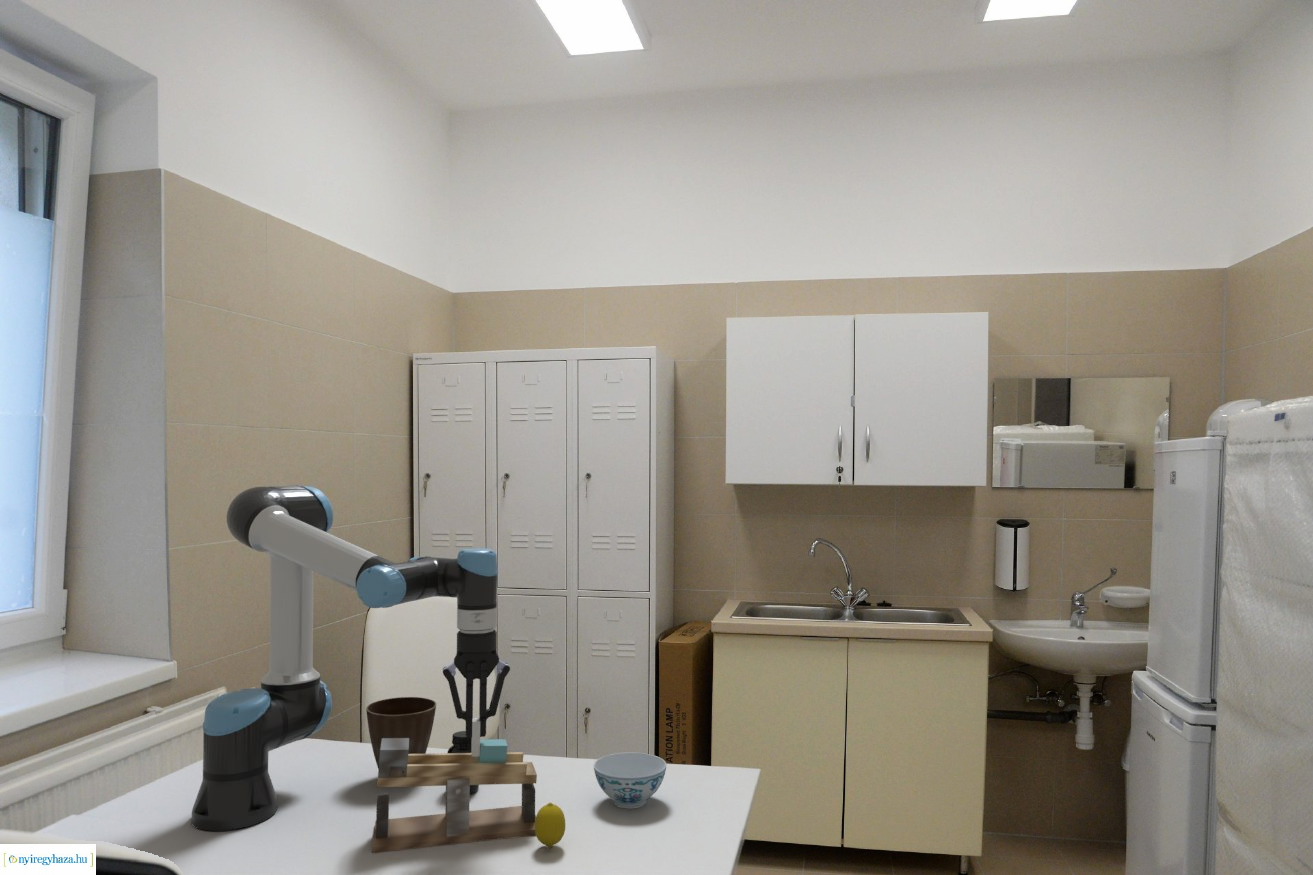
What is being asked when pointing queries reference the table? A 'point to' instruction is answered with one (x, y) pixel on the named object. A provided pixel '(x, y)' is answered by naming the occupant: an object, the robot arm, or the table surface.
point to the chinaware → (630, 777)
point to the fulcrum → (453, 821)
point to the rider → (493, 751)
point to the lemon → (550, 825)
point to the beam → (446, 767)
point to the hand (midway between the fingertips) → (475, 753)
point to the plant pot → (401, 722)
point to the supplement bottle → (462, 750)
